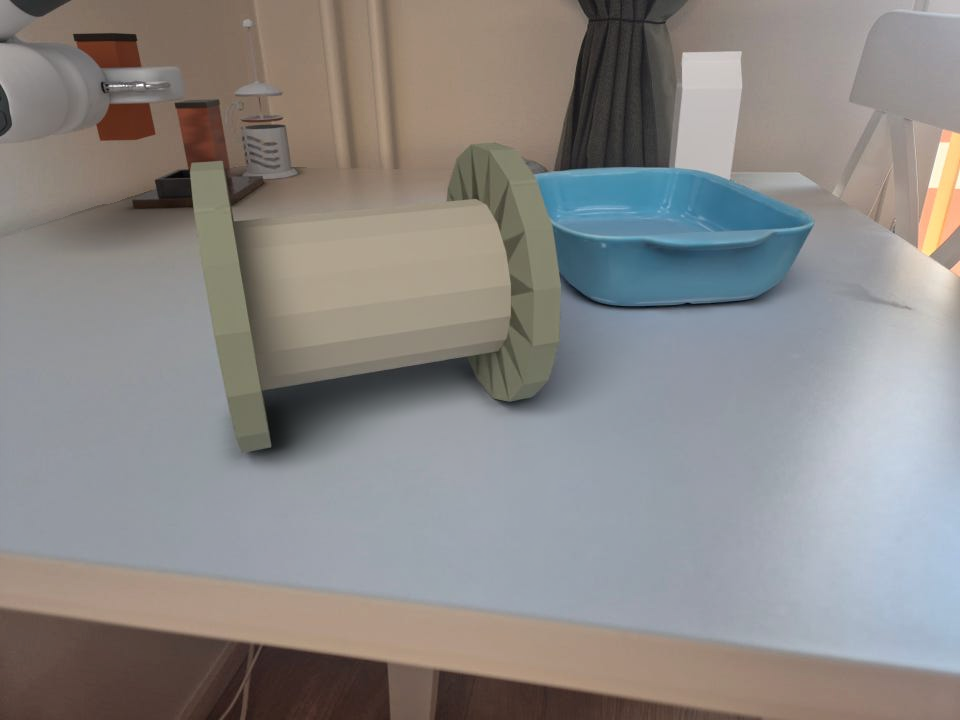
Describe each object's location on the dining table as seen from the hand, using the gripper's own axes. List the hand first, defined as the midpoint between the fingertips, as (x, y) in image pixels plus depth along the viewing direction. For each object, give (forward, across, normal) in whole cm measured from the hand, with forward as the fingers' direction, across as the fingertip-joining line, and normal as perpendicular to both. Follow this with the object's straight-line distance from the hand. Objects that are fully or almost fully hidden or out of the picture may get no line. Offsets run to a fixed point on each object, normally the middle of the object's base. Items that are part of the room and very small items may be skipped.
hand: (119, 82), depth 85 cm
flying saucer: (+13, -49, +17) cm, 54 cm away
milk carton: (-1, -74, +17) cm, 76 cm away
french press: (+33, -7, +17) cm, 38 cm away
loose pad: (-1, 0, +6) cm, 7 cm away
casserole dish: (-27, -60, +17) cm, 68 cm away
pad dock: (+15, -2, +17) cm, 23 cm away
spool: (-56, -38, +17) cm, 70 cm away
